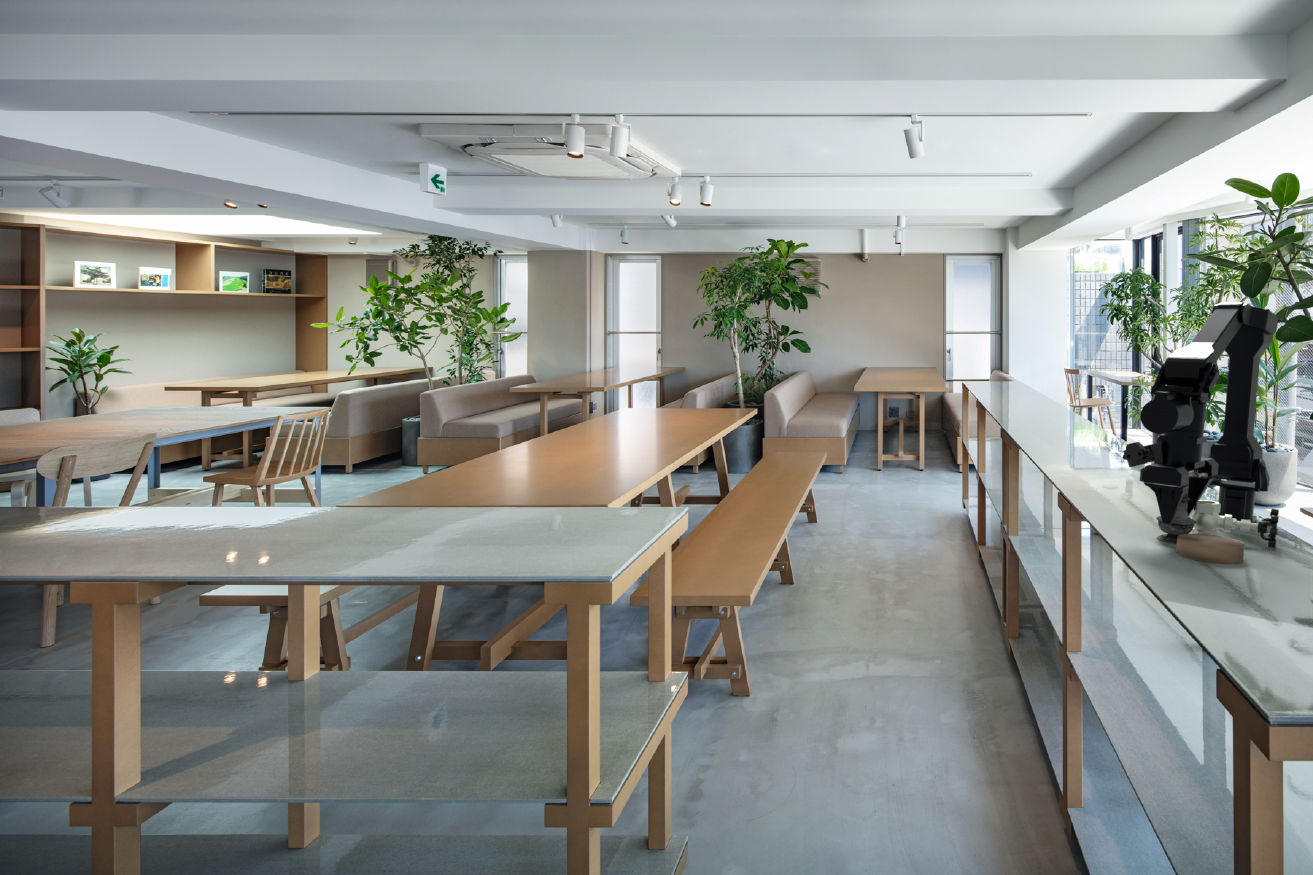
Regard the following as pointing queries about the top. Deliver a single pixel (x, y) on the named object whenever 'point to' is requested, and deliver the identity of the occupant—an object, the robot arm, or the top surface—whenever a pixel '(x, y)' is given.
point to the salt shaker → (1177, 522)
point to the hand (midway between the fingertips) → (1175, 519)
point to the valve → (1231, 522)
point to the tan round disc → (1210, 548)
